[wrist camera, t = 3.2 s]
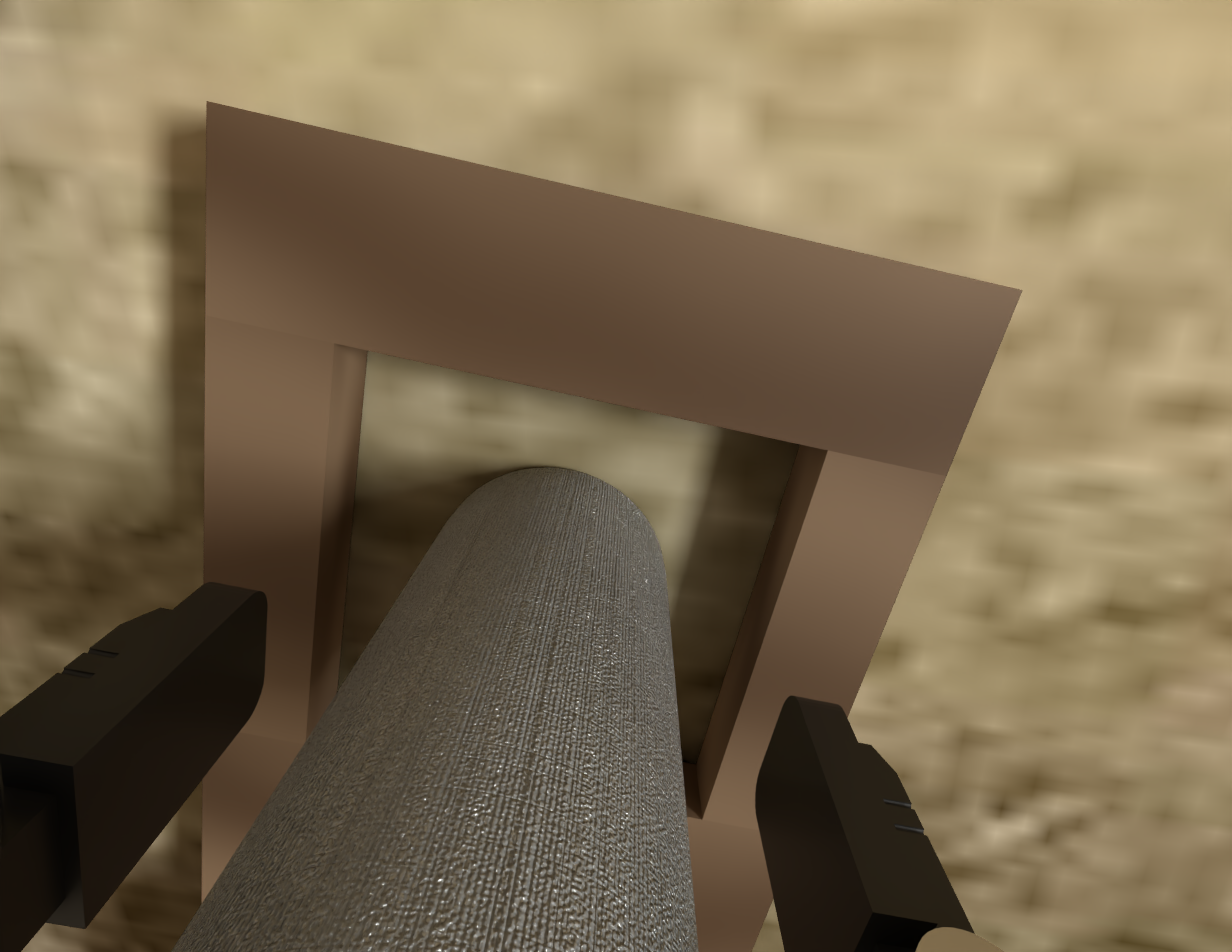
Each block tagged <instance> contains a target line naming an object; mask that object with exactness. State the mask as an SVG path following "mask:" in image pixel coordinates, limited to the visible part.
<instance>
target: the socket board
mask: <svg viewBox="0 0 1232 952" xmlns="http://www.w3.org/2000/svg"><path fill="white" fill-rule="evenodd" d="M1021 293H1022V290H1019V289H1015V288H1010V287H1006V286H1002V285H997V284H993V283H989V282H984V281H980V280H976V279H972V278H967V277H963V276H959V275H954V274H950V273H946V272H941V271H937V270H933V269H928V268H924V267H920V266H915V265H911V264H907V263H903V262H898V261H894V260H890V259H885V258H881V257H877V256H872V255H868V254H864V253H859V252H855V251H851V250H846V249H842V248H838V247H834V246H829V245H825V244H821V243H816V242H812V241H808V240H803V239H799V238H795V237H790V236H786V235H782V234H777V233H773V232H769V231H764V230H760V229H756V228H752V227H747V226H743V225H739V224H734V223H730V222H726V221H721V220H717V219H713V218H708V217H704V216H700V215H695V214H691V213H687V212H683V211H678V210H674V209H670V208H665V207H661V206H657V205H652V204H648V203H644V202H639V201H635V200H631V199H626V198H622V197H618V196H614V195H609V194H605V193H601V192H596V191H592V190H588V189H583V188H579V187H575V186H570V185H566V184H562V183H557V182H553V181H549V180H545V179H540V178H536V177H532V176H527V175H523V174H519V173H514V172H510V171H506V170H501V169H497V168H493V167H488V166H484V165H480V164H476V163H471V162H467V161H463V160H458V159H454V158H450V157H445V156H441V155H437V154H432V153H428V152H424V151H419V150H415V149H411V148H406V147H402V146H398V145H394V144H389V143H385V142H381V141H376V140H372V139H368V138H363V137H359V136H355V135H350V134H346V133H342V132H337V131H333V130H329V129H325V128H320V127H316V126H312V125H307V124H303V123H299V122H294V121H290V120H286V119H281V118H277V117H273V116H268V115H264V114H260V113H256V112H251V111H247V110H243V109H238V108H234V107H230V106H225V105H221V104H217V103H212V102H208V101H207V120H206V280H205V441H204V584H205V583H208V582H216V583H221V584H226V585H231V586H237V587H242V588H247V589H252V590H257V591H262V592H264V593H265V595H266V598H267V603H268V609H267V632H266V655H265V677H264V684H263V688H262V692H261V695H260V698H259V701H258V703H257V706H256V708H255V710H254V712H253V714H252V715H251V717H250V719H249V720H248V721H247V723H246V724H245V725H244V727H243V728H242V729H241V731H240V732H239V733H238V734H237V736H236V737H235V738H234V739H233V741H232V742H231V743H230V745H229V746H228V747H227V748H226V750H225V751H224V752H223V754H222V755H221V756H220V757H219V759H218V760H217V761H216V762H215V764H214V765H213V766H212V768H211V769H210V770H209V771H208V773H207V774H206V775H205V777H204V778H203V779H202V903H203V901H204V899H205V898H206V896H207V895H208V893H209V892H210V890H211V889H212V887H213V885H214V884H215V882H216V881H217V879H218V878H219V876H220V874H221V873H222V871H223V870H224V868H225V867H226V865H227V864H228V862H229V860H230V859H231V857H232V856H233V854H234V853H235V851H236V849H237V848H238V846H239V845H240V843H241V842H242V840H243V839H244V837H245V835H246V834H247V832H248V831H249V829H250V828H251V826H252V824H253V823H254V821H255V820H256V818H257V817H258V815H259V814H260V812H261V810H262V809H263V807H264V806H265V804H266V803H267V801H268V799H269V798H270V796H271V795H272V793H273V792H274V790H275V789H276V787H277V785H278V784H279V782H280V781H281V779H282V778H283V776H284V775H285V773H286V771H287V770H288V768H289V767H290V765H291V764H292V762H293V760H294V759H295V757H296V756H297V754H298V753H299V751H300V750H301V748H302V746H303V745H304V743H305V742H306V740H307V739H308V737H309V735H310V734H311V732H312V731H313V729H314V728H315V726H316V725H317V723H318V721H319V720H320V718H321V717H322V715H323V714H324V712H325V710H326V709H327V707H328V706H329V704H330V703H331V701H332V700H333V698H334V696H335V695H336V693H337V688H338V677H339V666H340V655H341V644H342V632H343V621H344V610H345V599H346V587H347V576H348V565H349V554H350V542H351V531H352V520H353V509H354V497H355V486H356V475H357V464H358V452H359V441H360V430H361V419H362V407H363V396H364V385H365V374H366V362H367V351H372V352H377V353H381V354H386V355H391V356H395V357H400V358H404V359H409V360H414V361H418V362H423V363H428V364H432V365H437V366H441V367H446V368H451V369H455V370H460V371H464V372H469V373H474V374H478V375H483V376H487V377H492V378H497V379H501V380H506V381H510V382H515V383H520V384H524V385H529V386H533V387H538V388H543V389H547V390H552V391H556V392H561V393H566V394H570V395H575V396H579V397H584V398H589V399H593V400H598V401H602V402H607V403H612V404H616V405H621V406H626V407H630V408H635V409H639V410H644V411H649V412H653V413H658V414H662V415H667V416H672V417H676V418H681V419H685V420H690V421H695V422H699V423H704V424H708V425H713V426H718V427H722V428H727V429H731V430H736V431H741V432H745V433H750V434H754V435H759V436H764V437H768V438H773V439H777V440H782V441H787V442H791V443H796V444H800V446H799V449H798V453H797V456H796V459H795V462H794V465H793V468H792V471H791V474H790V477H789V480H788V483H787V486H786V489H785V493H784V496H783V499H782V502H781V505H780V508H779V511H778V514H777V517H776V520H775V523H774V526H773V530H772V533H771V536H770V539H769V542H768V545H767V548H766V551H765V554H764V557H763V560H762V563H761V567H760V570H759V573H758V576H757V579H756V582H755V585H754V588H753V591H752V594H751V597H750V600H749V603H748V607H747V610H746V613H745V616H744V619H743V622H742V625H741V628H740V631H739V634H738V637H737V640H736V644H735V647H734V650H733V653H732V656H731V659H730V662H729V665H728V668H727V671H726V674H725V677H724V680H723V684H722V687H721V690H720V693H719V696H718V699H717V702H716V705H715V708H714V711H713V714H712V717H711V721H710V724H709V727H708V730H707V733H706V736H705V739H704V742H703V745H702V748H701V751H700V754H699V758H698V761H697V764H690V763H685V762H682V765H683V777H684V788H685V800H686V811H687V823H688V834H689V846H690V858H691V869H692V881H693V892H694V904H695V915H696V927H697V939H698V950H699V952H752V949H753V947H754V944H755V942H756V940H757V937H758V935H759V932H760V930H761V927H762V925H763V922H764V920H765V918H766V915H767V913H768V910H769V908H770V905H771V903H772V901H773V893H772V889H771V884H770V879H769V874H768V870H767V865H766V860H765V856H764V851H763V846H762V841H761V837H760V832H759V827H758V823H757V818H756V810H755V792H756V783H757V778H758V774H759V770H760V768H761V765H762V762H763V759H764V756H765V754H766V751H767V748H768V745H769V742H770V740H771V737H772V734H773V731H774V728H775V726H776V723H777V720H778V717H779V714H780V712H781V709H782V706H783V704H784V702H785V700H786V699H787V698H788V697H789V696H791V695H792V696H798V697H803V698H808V699H813V700H818V701H824V702H829V703H834V704H838V705H840V706H841V707H842V708H843V710H844V712H845V714H846V716H847V717H848V715H849V713H850V710H851V708H852V705H853V703H854V700H855V698H856V695H857V693H858V691H859V688H860V686H861V683H862V681H863V678H864V676H865V674H866V671H867V669H868V666H869V664H870V661H871V659H872V656H873V654H874V652H875V649H876V647H877V644H878V642H879V639H880V637H881V634H882V632H883V630H884V627H885V625H886V622H887V620H888V617H889V615H890V613H891V610H892V608H893V605H894V603H895V600H896V598H897V595H898V593H899V591H900V588H901V586H902V583H903V581H904V578H905V576H906V573H907V571H908V569H909V566H910V564H911V561H912V559H913V556H914V554H915V551H916V549H917V547H918V544H919V542H920V539H921V537H922V534H923V532H924V530H925V527H926V525H927V522H928V520H929V517H930V515H931V512H932V510H933V508H934V505H935V503H936V500H937V498H938V495H939V493H940V490H941V488H942V486H943V483H944V481H945V478H946V476H947V473H948V471H949V469H950V466H951V464H952V461H953V459H954V456H955V454H956V451H957V449H958V447H959V444H960V442H961V439H962V437H963V434H964V432H965V429H966V427H967V425H968V422H969V420H970V417H971V415H972V412H973V410H974V407H975V405H976V403H977V400H978V398H979V395H980V393H981V390H982V388H983V386H984V383H985V381H986V378H987V376H988V373H989V371H990V368H991V366H992V364H993V361H994V359H995V356H996V354H997V351H998V349H999V346H1000V344H1001V342H1002V339H1003V337H1004V334H1005V332H1006V329H1007V327H1008V324H1009V322H1010V320H1011V317H1012V315H1013V312H1014V310H1015V307H1016V305H1017V303H1018V300H1019V298H1020V295H1021Z"/></svg>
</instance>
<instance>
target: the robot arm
mask: <svg viewBox="0 0 1232 952" xmlns="http://www.w3.org/2000/svg"><path fill="white" fill-rule="evenodd" d="M267 609H268V603H267V598H266V595H265V593H264V592H262V591H257V590H252V589H247V588H242V587H237V586H231V585H226V584H221V583H216V582H208V583H205V584H204V585H202V586H201V587H200V588H198V589H197V590H196V591H195V592H194V593H192V594H191V595H190V596H189V597H188V598H186V599H185V600H184V601H183V602H182V603H180V604H179V605H178V606H177V607H175V608H174V609H173V610H169V609H164V608H159V609H156V610H154V611H151V612H149V613H147V614H144V615H142V616H140V617H137V618H135V619H132V620H130V621H128V622H125V623H123V624H120V625H119V626H118V627H116V628H115V629H114V630H112V631H111V632H110V633H109V634H107V635H106V636H105V637H103V638H102V639H101V640H100V641H98V642H97V643H96V644H94V645H93V646H92V647H90V650H89V652H88V653H83V654H81V655H80V656H79V657H77V658H76V659H75V660H74V661H72V662H71V663H70V664H68V665H67V666H66V667H64V671H63V672H62V673H61V674H60V673H57V674H55V675H54V676H53V677H52V678H50V679H49V680H48V681H46V682H45V683H44V684H42V685H41V686H40V687H39V688H37V689H36V690H35V691H33V692H32V693H31V694H29V695H28V696H27V697H26V698H24V699H23V700H22V701H20V702H19V703H18V704H16V705H15V706H14V707H13V708H11V709H10V710H9V711H7V712H6V713H5V714H3V715H2V716H1V717H0V952H21V951H22V950H23V948H24V947H25V946H26V945H27V944H28V943H29V941H30V940H31V939H32V938H33V937H34V935H35V934H36V933H37V932H38V931H39V930H40V928H41V927H42V926H43V925H44V924H45V922H46V923H52V924H58V925H64V926H70V927H76V928H82V929H86V927H87V926H88V925H89V924H90V922H91V921H92V920H93V918H94V917H95V916H96V915H97V913H98V912H99V911H100V909H101V908H102V907H103V906H104V904H105V903H106V902H107V901H108V899H109V898H110V897H111V895H112V894H113V893H114V892H115V890H116V889H117V888H118V886H119V885H120V884H121V883H122V881H123V880H124V879H125V878H126V876H127V875H128V874H129V872H130V871H131V870H132V869H133V867H134V866H135V865H136V863H137V862H138V861H139V860H140V858H141V857H142V856H143V855H144V853H145V852H146V851H147V849H148V848H149V847H150V846H151V844H152V843H153V842H154V840H155V839H156V838H157V837H158V835H159V834H160V833H161V832H162V830H163V829H164V828H165V826H166V825H167V824H168V823H169V821H170V820H171V819H172V817H173V816H174V815H175V814H176V812H177V811H178V810H179V809H180V807H181V806H182V805H183V803H184V802H185V801H186V800H187V798H188V797H189V796H190V794H191V793H192V792H193V791H194V789H195V788H196V787H197V785H198V784H199V783H200V782H201V780H202V779H203V778H204V777H205V775H206V774H207V773H208V771H209V770H210V769H211V768H212V766H213V765H214V764H215V762H216V761H217V760H218V759H219V757H220V756H221V755H222V754H223V752H224V751H225V750H226V748H227V747H228V746H229V745H230V743H231V742H232V741H233V739H234V738H235V737H236V736H237V734H238V733H239V732H240V731H241V729H242V728H243V727H244V725H245V724H246V723H247V721H248V720H249V719H250V717H251V715H252V714H253V712H254V710H255V708H256V706H257V703H258V701H259V698H260V695H261V692H262V688H263V684H264V677H265V655H266V632H267ZM755 810H756V818H757V823H758V827H759V832H760V837H761V841H762V846H763V851H764V856H765V860H766V865H767V870H768V874H769V879H770V884H771V889H772V893H773V898H774V903H775V907H776V912H777V917H778V922H779V926H780V931H781V936H782V940H783V945H784V950H785V952H1004V951H1002V950H1001V949H1000V948H998V947H997V946H996V945H994V944H992V943H991V942H989V941H988V940H986V939H984V938H982V937H980V936H978V935H976V934H975V933H974V931H973V929H972V927H971V925H970V923H969V921H968V919H967V917H966V915H965V912H964V910H963V908H962V906H961V904H960V902H959V900H958V898H957V896H956V894H955V892H954V890H953V888H952V886H951V884H950V882H949V880H948V878H947V876H946V873H945V871H944V869H943V867H942V865H941V863H940V861H939V859H938V857H937V855H936V853H935V851H934V849H933V847H932V845H931V843H930V841H929V839H928V837H927V836H926V835H924V834H923V830H924V828H923V826H922V824H921V822H920V820H919V818H918V816H917V814H916V812H915V810H913V809H911V802H910V800H909V798H908V796H907V793H906V791H905V789H904V787H903V785H902V783H901V781H900V779H899V777H898V775H897V773H896V772H895V771H894V770H893V769H892V768H891V767H890V765H889V764H888V763H887V762H886V761H885V760H884V759H883V758H882V757H881V756H880V754H879V753H878V752H877V751H876V750H875V749H874V748H873V747H872V746H871V745H868V744H863V743H858V741H857V739H856V737H855V734H854V732H853V730H852V728H851V725H850V723H849V721H848V719H847V716H846V714H845V712H844V710H843V708H842V707H841V706H840V705H838V704H834V703H829V702H824V701H818V700H813V699H808V698H803V697H798V696H792V695H791V696H789V697H788V698H787V699H786V700H785V702H784V704H783V706H782V709H781V712H780V714H779V717H778V720H777V723H776V726H775V728H774V731H773V734H772V737H771V740H770V742H769V745H768V748H767V751H766V754H765V756H764V759H763V762H762V765H761V768H760V770H759V774H758V778H757V783H756V792H755Z"/></svg>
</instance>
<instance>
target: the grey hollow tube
mask: <svg viewBox="0 0 1232 952" xmlns="http://www.w3.org/2000/svg"><path fill="white" fill-rule="evenodd" d="M171 952H699V950H698V939H697V927H696V915H695V904H694V892H693V881H692V869H691V858H690V846H689V834H688V823H687V811H686V800H685V788H684V777H683V765H682V753H681V742H680V730H679V719H678V707H677V696H676V684H675V672H674V661H673V649H672V638H671V626H670V615H669V603H668V591H667V580H666V572H665V566H664V561H663V556H662V552H661V548H660V545H659V542H658V539H657V537H656V535H655V532H654V530H653V528H652V527H651V525H650V523H649V521H648V520H647V519H646V517H645V516H644V514H643V513H642V512H641V511H640V509H639V508H638V507H637V506H636V505H635V504H634V503H633V502H632V501H631V500H630V499H629V498H628V497H626V496H625V495H624V494H623V493H621V492H620V491H619V490H617V489H616V488H614V487H613V486H611V485H609V484H607V483H606V482H604V481H602V480H600V479H597V478H595V477H593V476H590V475H588V474H585V473H581V472H578V471H573V470H568V469H561V468H550V467H545V468H530V469H524V470H519V471H515V472H511V473H508V474H505V475H502V476H500V477H498V478H495V479H493V480H491V481H489V482H487V483H486V484H484V485H482V486H481V487H479V488H478V489H477V490H475V491H474V492H473V493H472V494H471V495H469V496H468V497H467V498H466V499H465V500H464V501H463V502H462V503H461V504H460V506H459V507H458V508H457V509H456V511H455V512H454V513H453V514H452V516H451V517H450V518H449V519H448V521H447V522H446V523H445V525H444V526H443V528H442V529H441V531H440V532H439V534H438V536H437V537H436V539H435V540H434V542H433V543H432V545H431V547H430V548H429V550H428V551H427V553H426V554H425V556H424V557H423V559H422V561H421V562H420V564H419V565H418V567H417V568H416V570H415V571H414V573H413V575H412V576H411V578H410V579H409V581H408V582H407V584H406V586H405V587H404V589H403V590H402V592H401V593H400V595H399V596H398V598H397V600H396V601H395V603H394V604H393V606H392V607H391V609H390V611H389V612H388V614H387V615H386V617H385V618H384V620H383V621H382V623H381V625H380V626H379V628H378V629H377V631H376V632H375V634H374V636H373V637H372V639H371V640H370V642H369V643H368V645H367V646H366V648H365V650H364V651H363V653H362V654H361V656H360V657H359V659H358V661H357V662H356V664H355V665H354V667H353V668H352V670H351V671H350V673H349V675H348V676H347V678H346V679H345V681H344V682H343V684H342V685H341V687H340V689H339V690H338V692H337V693H336V695H335V696H334V698H333V700H332V701H331V703H330V704H329V706H328V707H327V709H326V710H325V712H324V714H323V715H322V717H321V718H320V720H319V721H318V723H317V725H316V726H315V728H314V729H313V731H312V732H311V734H310V735H309V737H308V739H307V740H306V742H305V743H304V745H303V746H302V748H301V750H300V751H299V753H298V754H297V756H296V757H295V759H294V760H293V762H292V764H291V765H290V767H289V768H288V770H287V771H286V773H285V775H284V776H283V778H282V779H281V781H280V782H279V784H278V785H277V787H276V789H275V790H274V792H273V793H272V795H271V796H270V798H269V799H268V801H267V803H266V804H265V806H264V807H263V809H262V810H261V812H260V814H259V815H258V817H257V818H256V820H255V821H254V823H253V824H252V826H251V828H250V829H249V831H248V832H247V834H246V835H245V837H244V839H243V840H242V842H241V843H240V845H239V846H238V848H237V849H236V851H235V853H234V854H233V856H232V857H231V859H230V860H229V862H228V864H227V865H226V867H225V868H224V870H223V871H222V873H221V874H220V876H219V878H218V879H217V881H216V882H215V884H214V885H213V887H212V889H211V890H210V892H209V893H208V895H207V896H206V898H205V899H204V901H203V903H202V904H201V906H200V907H199V909H198V910H197V912H196V913H195V915H194V917H193V918H192V920H191V921H190V923H189V924H188V926H187V928H186V929H185V931H184V932H183V934H182V935H181V937H180V938H179V940H178V942H177V943H176V945H175V946H174V948H173V949H172V951H171Z"/></svg>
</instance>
